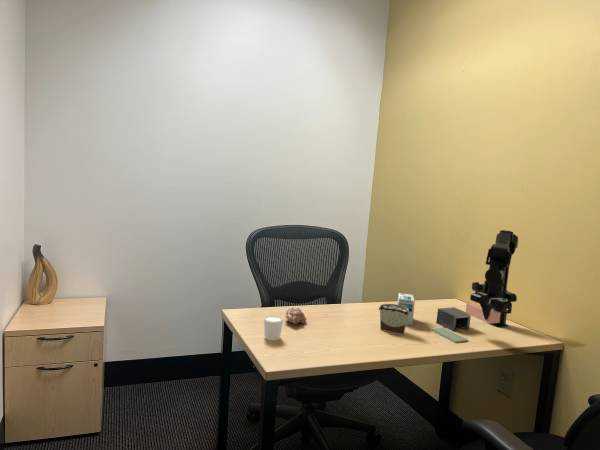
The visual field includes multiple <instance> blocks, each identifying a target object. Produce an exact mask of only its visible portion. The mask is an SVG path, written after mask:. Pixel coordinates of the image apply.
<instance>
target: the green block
mask: <svg viewBox="0 0 600 450" xmlns="http://www.w3.org/2000/svg"><path fill="white" fill-rule="evenodd" d="M431 331H432V332H434V333H436V334H437V335H439V336H441V337H443V338H445V339H447V340H449V341H451V342H453V343H455V344H456V343H464V342H465V343H466V342H469V339H467V337H466V338H465V337H463V336H462V335H459V334H457V333H455V332H454V331H451V330H449V329H447V328H445V327H438V328H431Z"/></svg>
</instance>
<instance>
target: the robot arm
mask: <svg viewBox="0 0 600 450" xmlns="http://www.w3.org/2000/svg"><path fill="white" fill-rule="evenodd" d="M518 247H519V236H518V235H516V234H514V232H513V231H512V230H504V229H502V230H500V231H499V233H496V237H495V243H493V244H492V245H491V246H490V248H488V249H487V250H488V252H487V256H486V261H485V265H487V266H488V267H489V268H488V269H487V270H486V271H485V273H484V279H485V280H484V282H483V283H480V282H479V281H477V282H476V281H475V282H472V284H471V289H472V291H474V292H473V293H471V294H470V299H469V300H470V301H471V302H472V301H473V303H478V304H480V305H481V308H482V311H483V315H484V319H486V320H487V319H488V317H489V314H490V311H491V309H493V310H495V311H498V312H500V313H501V314H500V322H499V323H490V325H491V326H495V327H497V328H502V327H509V324H507V316H508V315H509V314H512V310H513V303H514V302H517V299H518V296H517V295H516V293H513V292H510V291H508V281H509V274H510V265H511V262H512V256H513V255H514V254H515V252H516V249H518Z"/></svg>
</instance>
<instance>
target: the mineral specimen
mask: <svg viewBox="0 0 600 450" xmlns="http://www.w3.org/2000/svg"><path fill="white" fill-rule="evenodd" d="M284 316H285V318H286V319H287V321H288V322H289V323H291V324H294V325H297V324H299V323H301V324H302V325H303V324H305V323H306V322H307V317H306V316H305V313H304V312H303V311H302V309H301V308H299V307H291V308H288V309H287V310H286V311H285V313H284Z"/></svg>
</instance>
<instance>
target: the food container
mask: <svg viewBox="0 0 600 450" xmlns="http://www.w3.org/2000/svg"><path fill="white" fill-rule="evenodd" d="M378 311H379V315H380V317H379V319H380V320H379V321H380V322H379V323H380V324H379V325H380V328H379V329H380V330H381V331H385V332H389V333H394V334H397V335H403V336H404V335H405V330H406V326H407V325H406V322H407V317H408V314H409V309H408V308H406V307H404V306H401V305H398V304H396V303H395V304H394V303H383V304H380V305H379V307H378ZM409 316H410V314H409Z"/></svg>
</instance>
